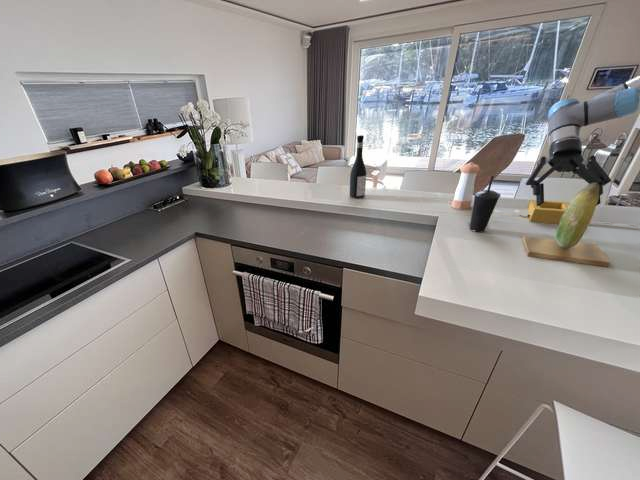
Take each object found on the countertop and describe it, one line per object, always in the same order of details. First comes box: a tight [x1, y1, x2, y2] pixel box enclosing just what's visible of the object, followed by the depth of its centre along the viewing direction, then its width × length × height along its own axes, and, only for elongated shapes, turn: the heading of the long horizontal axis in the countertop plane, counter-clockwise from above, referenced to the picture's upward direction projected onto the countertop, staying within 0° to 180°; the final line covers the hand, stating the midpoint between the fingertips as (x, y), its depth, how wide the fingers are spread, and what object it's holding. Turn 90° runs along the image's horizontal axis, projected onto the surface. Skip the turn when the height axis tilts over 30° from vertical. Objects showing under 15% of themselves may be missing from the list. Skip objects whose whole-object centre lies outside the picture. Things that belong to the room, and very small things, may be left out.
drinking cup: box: [469, 175, 501, 232], centre depth 102 cm, size 8×8×20 cm
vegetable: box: [555, 183, 599, 248], centre depth 83 cm, size 6×6×20 cm
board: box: [522, 236, 611, 268], centre depth 89 cm, size 18×12×2 cm, turn 60°
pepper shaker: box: [451, 161, 481, 210], centre depth 123 cm, size 7×7×19 cm
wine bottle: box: [349, 135, 367, 199], centre depth 145 cm, size 8×8×30 cm
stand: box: [526, 199, 570, 225], centre depth 110 cm, size 12×12×5 cm
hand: (567, 204), depth 89 cm, fingers open, 13 cm apart
